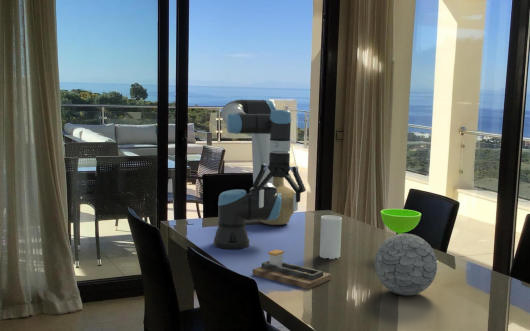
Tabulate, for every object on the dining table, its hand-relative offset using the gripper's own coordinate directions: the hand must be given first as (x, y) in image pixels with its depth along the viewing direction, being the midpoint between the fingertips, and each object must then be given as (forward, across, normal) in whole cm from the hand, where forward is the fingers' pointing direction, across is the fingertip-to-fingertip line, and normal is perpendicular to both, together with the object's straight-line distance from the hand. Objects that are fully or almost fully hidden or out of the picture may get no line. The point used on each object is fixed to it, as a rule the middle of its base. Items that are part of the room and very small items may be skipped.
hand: (278, 209), depth 217 cm
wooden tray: (+22, +10, -10) cm, 26 cm away
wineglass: (+22, +39, +36) cm, 58 cm away
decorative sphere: (+22, +49, -10) cm, 54 cm away
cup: (+22, +14, +23) cm, 35 cm away
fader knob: (+20, +3, -8) cm, 22 cm away
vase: (+22, -28, +68) cm, 77 cm away
